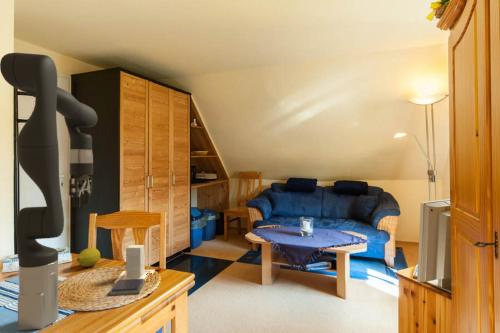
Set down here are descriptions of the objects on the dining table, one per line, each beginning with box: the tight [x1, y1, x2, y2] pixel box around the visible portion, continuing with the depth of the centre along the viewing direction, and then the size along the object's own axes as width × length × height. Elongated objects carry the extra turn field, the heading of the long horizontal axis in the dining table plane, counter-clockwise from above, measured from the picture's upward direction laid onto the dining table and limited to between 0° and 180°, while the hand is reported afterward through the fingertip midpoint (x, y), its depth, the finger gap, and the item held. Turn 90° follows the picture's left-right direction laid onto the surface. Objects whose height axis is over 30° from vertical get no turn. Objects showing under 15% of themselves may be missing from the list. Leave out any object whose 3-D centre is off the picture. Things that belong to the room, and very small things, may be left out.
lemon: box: [76, 247, 101, 268], centre depth 129 cm, size 11×8×8 cm
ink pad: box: [108, 279, 146, 296], centre depth 107 cm, size 10×10×2 cm
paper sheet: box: [113, 269, 156, 284], centre depth 118 cm, size 12×13×1 cm
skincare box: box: [125, 244, 146, 277], centre depth 118 cm, size 6×4×12 cm
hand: (81, 205), depth 108 cm, fingers open, 8 cm apart
